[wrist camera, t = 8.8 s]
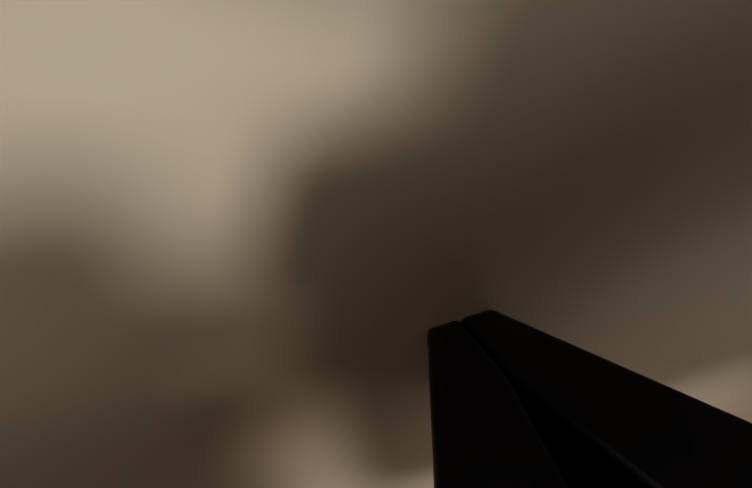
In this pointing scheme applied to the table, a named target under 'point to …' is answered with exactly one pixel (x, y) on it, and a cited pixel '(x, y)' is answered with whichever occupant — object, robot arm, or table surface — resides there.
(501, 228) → the carton flap
